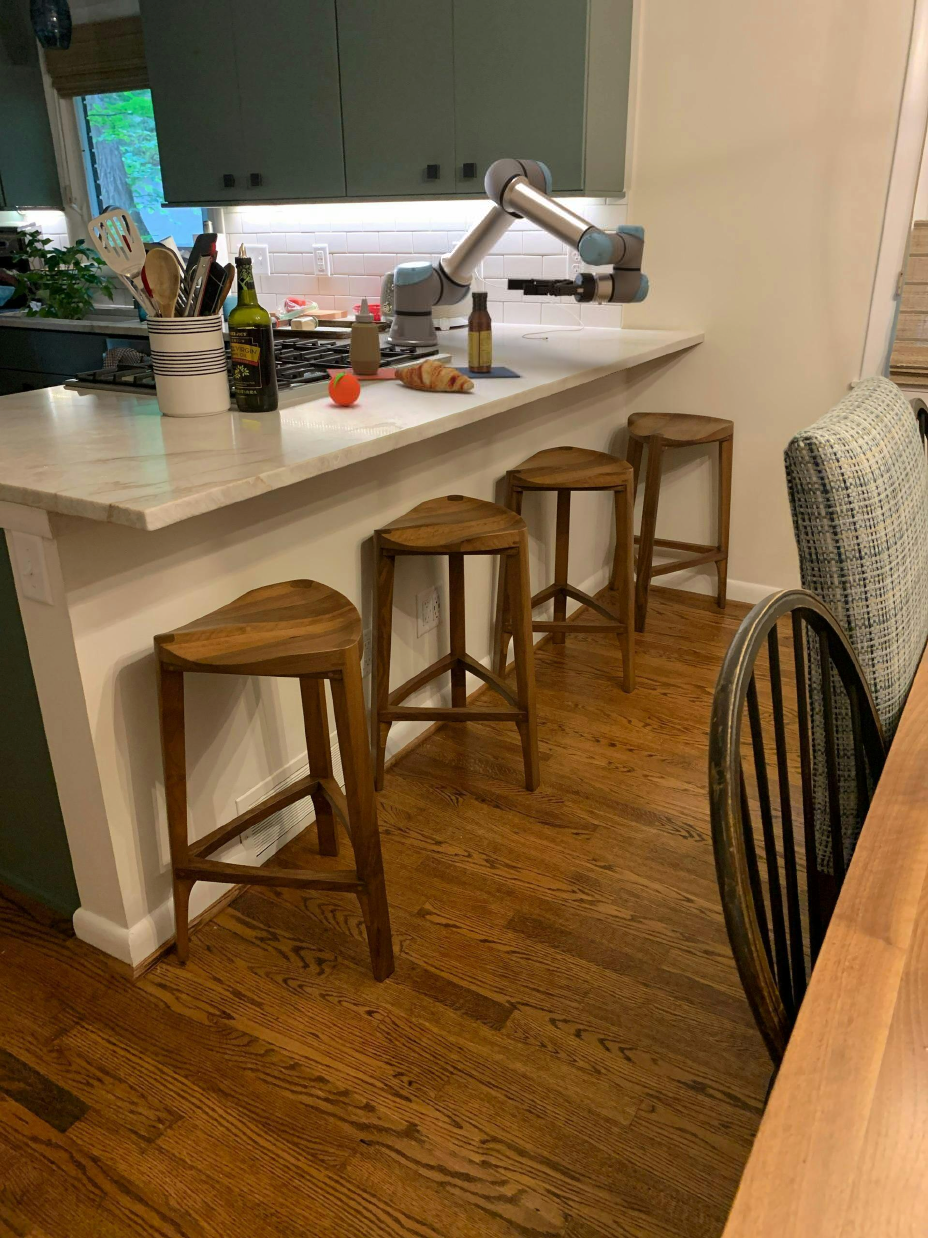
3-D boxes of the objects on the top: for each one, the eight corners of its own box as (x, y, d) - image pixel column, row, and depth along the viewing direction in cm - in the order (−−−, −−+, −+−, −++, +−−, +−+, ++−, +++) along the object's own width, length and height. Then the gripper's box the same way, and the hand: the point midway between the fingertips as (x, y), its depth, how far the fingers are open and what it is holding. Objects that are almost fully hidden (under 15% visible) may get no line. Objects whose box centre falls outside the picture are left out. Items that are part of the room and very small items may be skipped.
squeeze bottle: (343, 374, 234) (341, 298, 227) (358, 369, 241) (357, 296, 234) (372, 377, 232) (371, 301, 224) (386, 372, 238) (386, 298, 231)
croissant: (477, 405, 222) (485, 373, 222) (463, 391, 213) (471, 357, 213) (399, 394, 230) (407, 362, 230) (382, 380, 220) (390, 347, 220)
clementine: (349, 410, 197) (349, 376, 194) (320, 407, 199) (319, 373, 196) (366, 404, 204) (365, 370, 201) (337, 400, 206) (336, 368, 203)
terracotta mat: (326, 370, 240) (326, 369, 240) (394, 369, 245) (394, 368, 245) (333, 380, 228) (333, 378, 228) (405, 379, 233) (405, 377, 232)
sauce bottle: (492, 370, 246) (495, 290, 238) (490, 374, 241) (493, 293, 232) (467, 369, 247) (470, 289, 239) (465, 372, 241) (467, 291, 233)
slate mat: (439, 369, 248) (439, 367, 248) (503, 368, 252) (503, 366, 252) (452, 378, 236) (452, 376, 235) (519, 377, 240) (519, 375, 240)
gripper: (608, 307, 239) (530, 307, 234) (573, 297, 261) (501, 296, 256) (611, 276, 236) (531, 275, 231) (575, 268, 258) (502, 267, 253)
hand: (515, 286), depth 243 cm, fingers open, 13 cm apart
